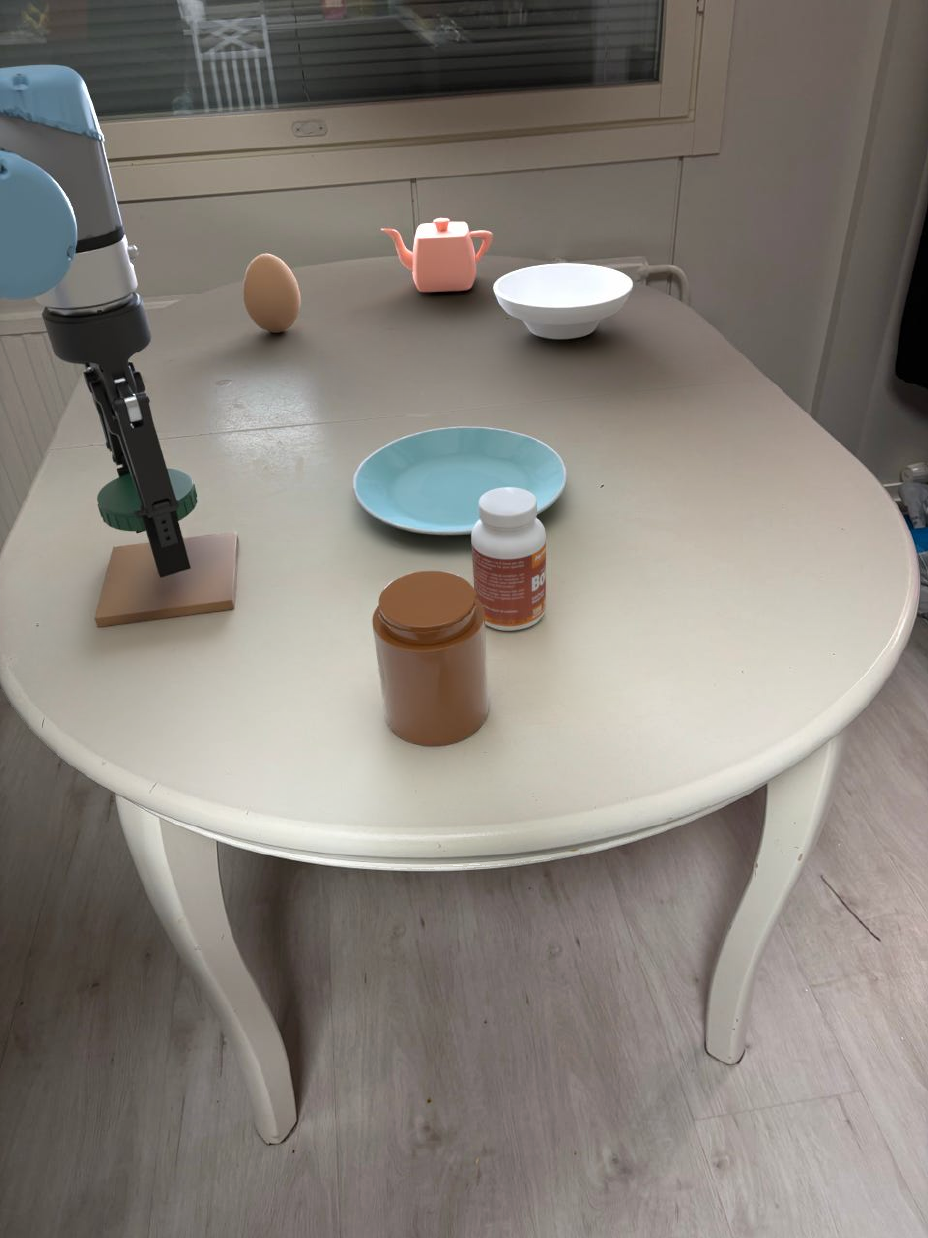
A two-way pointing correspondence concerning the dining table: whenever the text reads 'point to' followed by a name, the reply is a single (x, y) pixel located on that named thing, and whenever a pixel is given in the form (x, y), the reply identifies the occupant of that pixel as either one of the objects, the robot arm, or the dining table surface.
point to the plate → (453, 477)
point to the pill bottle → (509, 559)
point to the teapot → (442, 255)
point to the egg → (271, 293)
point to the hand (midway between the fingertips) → (161, 548)
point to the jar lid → (123, 500)
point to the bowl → (563, 297)
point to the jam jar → (432, 657)
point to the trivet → (169, 582)
